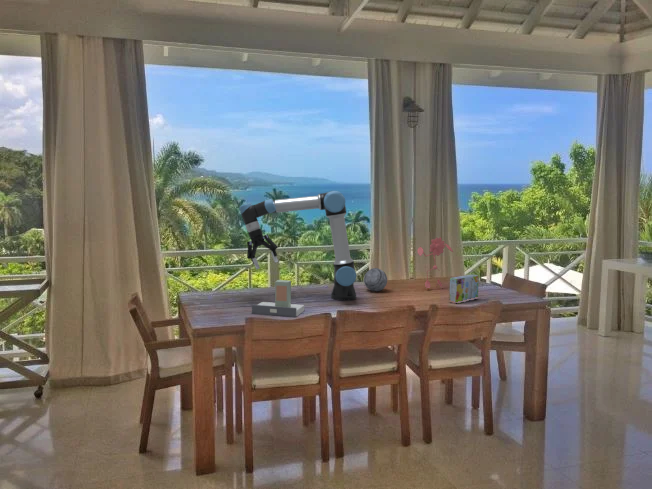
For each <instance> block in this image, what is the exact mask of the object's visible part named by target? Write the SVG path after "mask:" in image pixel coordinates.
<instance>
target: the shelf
mask: <svg viewBox="0 0 652 489" xmlns="http://www.w3.org/2000/svg"><path fill="white" fill-rule="evenodd" d="M304 311H305V305H304V304H295V303H291V307H277V306H275V302H271V301H270V302H269V301H262V302H260V303H258V304H251V314H255V315H265V316H278V317H290V318H291V317H292V318H296V317H298V316H299V315H301V314H302V313H303V312H304Z"/></svg>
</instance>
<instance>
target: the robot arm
mask: <svg viewBox="0 0 652 489" xmlns="http://www.w3.org/2000/svg"><path fill="white" fill-rule="evenodd" d="M316 209H319V210H320V211H323V210H324V211H325V216H326V218H328V220H329V225H330V232H331V239H332V244H333V246H332V247H333V251H334V257H335V258H334V259H335V260H334V262H333V269H334V272H333V273H334V275H333V276H334V278H333V287H332V291H331V293H330V298H331V299H332V300H336V301H354V300H356V299H357V292H356V290H355V286H354V283H355V281H356V279H357V272H356V268H355V267H356V266H355V260H354V259H353V258H352V257H351V253H350V245H349V238H348V231H347V225H346V219H345V217H346V214H347V207H346V197H345V196H344V194H343V193H341V191H339V190H329V191H327V192H323V193H318V194H317V195H311V196H309V195H308V196H299V197H290V198H279V199H273V198H269V199H266V200H263V201H260V202H258V203H256V204H252V202H247V203H245V204H244V203H243V204H242V205H240V206H239V212H240V215H241V218H242V220H243V223H244V226H245V228H246V232H248V233H247V234H248V236H249V239H250V240H251V241H250V240H249V241H247V243H246V245H247V259H249V260H251V262H252V264H253V265H254V266H255V270H259V269H260V268H261V267H260V265H259V262H258V260H257V257H256V254H257V249H258V247H260V246H264V247H265V248H267V249H268V250H270V251H271V252H270V254H271V257H272V259H273V262H274V263H275V264H276V263H278V262H279V260H278V254H277V249H278V246H277V245H276V243H275V242H274V241H273V240H272V239H271V238H270V237H269V235H268V234H263V231H262V229H261V226H260V223H259V220H258V218H261V217H263V216H266V215H270V214H275V213H276V214H277V213H286V212H295V211H306V210H316Z"/></svg>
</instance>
